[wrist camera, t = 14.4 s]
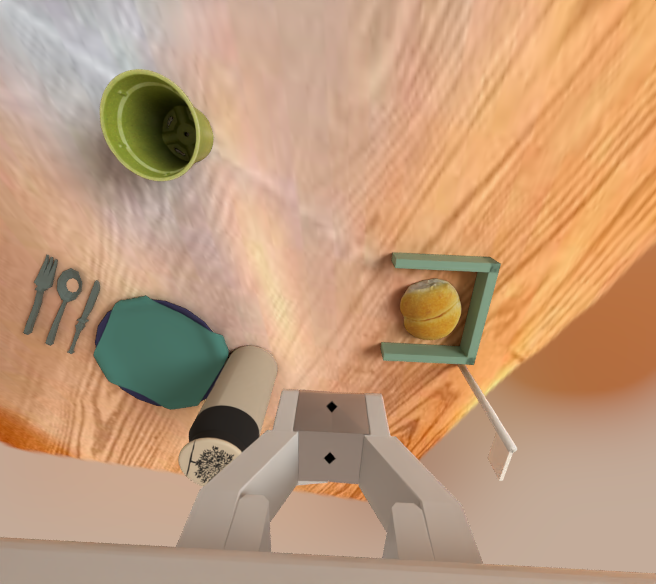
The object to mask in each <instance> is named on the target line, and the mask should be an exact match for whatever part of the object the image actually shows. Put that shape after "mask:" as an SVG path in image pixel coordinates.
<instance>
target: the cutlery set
mask: <svg viewBox="0 0 656 584" xmlns="http://www.w3.org/2000/svg"><path fill="white" fill-rule="evenodd" d="M48 261H49V255H46V258H45V261H44V264H43V266H42V268H41V270H40V272H39V274H38V276H37V278H36V280H35V281H34V283H35V284H36V285H37V288H36V289H35V290H37V293H36V297H35V302H34V305H33V308H32V311H31V313H30V316H29V318H28V321H27V323H26V327H25V330H24V332H23V333H24V334H27V335H28V334H30V333H32V331H33V327H34V323H35V321H36V318H37V316H38V313H39V310H40V307H41V303H42V298H43V294H44V291H46V290H47V289H48V288H51V287H52V285H53V280H54V275H55V271H56V267H57V262H58V260H57V259H55V262H54V265H53V267H52V264H53V257H51V258H50V262H49V264H48ZM47 265H48V266H47ZM51 268H52V269H51ZM72 278H74V279H76V280H77V281H78V284H79V289H78V290H77V291H76V292H73V293H72V292H70V291H68V289H67V287H66V282H67V281H68V280H69V279H72ZM81 290H82V281H81V278H80V275H79V273H78V272H77V271H75V270H73V269H72V268H70V269H68V270H66V271H64V272H62V274H61V276H60V277H59V279H58V283H57V291H58V293H59V295H60V298H61V299H62V300H63V303H62V305H61V307H60V309H59V311H58V314H57V316H56V318H55V320H54V322H53V325H52V327H51V330H50V332H49V335H48V337H47V340H46V342H45V343H46V344H48V345H50V346H51V345H52V344H54V340H55V336H56V333H57V329H58V326H59V323H60V320H61V317H62V315H63V312H64V309H65V306H66V304H67V302H69V301H72V300H75V299H76V298H77V296H78V295H79V294H80V292H81ZM99 291H100V285H99V281H98V280H96V281H95V283H94V286H93V288H92V291H91V294H90V296H89V299H88V302H87V304H86V307H85V310H84V312H83V315H82V317H81V318H79V319H77V320H78V321H79V322H78V324H77V325H75V326H76V333H75V336H74V340H73V343H72V345H71V347H70V350H69V351H68V353H70V354H72V353H74V351H73V350H74V347H75V344H76V341H77V339H78V337H79V334H80V332H81V331H82V330H83V329H84V327H85V323H86V322H88V321H89V320H87V317H88V316H89V314H90V312H91V311H92V309H93V306H94V304H95V302H96V299H97V296H98V293H99ZM95 345H96V349H95V352H94V357H95V359H96V361H97V363H98V365H99V366H100V368H101V370H102V371H103V373H104V375H105V377H106V378H107V379H108V381H109V382H111V383H113V384H116V385H118V386H119V387H120V388H121V389H122V390H124V391H126V392H127V393H129V394H130V395H132V396H134V397H135V398H137V399H139V400H142V401H145V402H147V403H150V404H153V405H156V406H163V407H165V408H167V409H180V408H186V407H192V406H198V405H199V403H200V402H201V401H202V400H205V399H207V397H208V395H209V394H210V392H211V390H212V388H213V386H214V384H215V382H216V381H217V379H218V377H219V375H220V373H221V371H222V370H223V368H224V363H225V362H226V360H227V358H228V353H229V351H228V347H227V345H226V343H225V340H224V337H223V336H222V335H219V334H216V333H213V332H212V331H211V329H210V328H209V327H208V326H207V324H206V323H205V322H204V321H203V320H201V319H200V318H198V317H197V316H196V315H194V314H193V313H191V312H190V311H189V310H187V309H185V308H183V307H180V306H178V305H175V304H172V303H170V302H167V301H162V300H153V299H150V298H149V297H147V296H146V295H145V296H142V297H138V298H132V299H126V300H120V301H119V302H117V303H116V304H115V306H114V307H113V309H112V310H111V311H109V312H107V314H106V315H105V317H104V318H103V320H102V321H101V322H100V324H99V325H98V328H97V334H96V340H95Z"/></svg>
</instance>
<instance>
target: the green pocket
mask: <svg viewBox="0 0 656 584" xmlns="http://www.w3.org/2000/svg"><path fill="white" fill-rule="evenodd" d="M392 263H393V265H394V267H395V268H407V269H428V270H450V271H471V272H477V276H476V281H475V285H474V289H473V293H472V297H471V302H470V306H469V310H468V314H467V318H466V323H465V327H464V331H463V335H462V339H461V344H460V346H447V345H426V344H406V343H385V342H381V353H382V357H383V360H386V361H406V362H427V363H447V364H457V365H458V367H459V369H460V370H461V372H462V374H463V375H464V377H465V379H466V381H467V382H468V384H469V386H470V387H471V389H472V391H473V392H474V394H475V396H476V398H477V399H478V401H479V403H480V404H481V406H482V408H483V409H484V411H485V413H486V414H487V416H488V418H489V420H490V421H491V423H492V425H493V426H494V428H495V430H496V434H495V437H494V440H493V443H492V446H491V449H490V453H489V456H488V460H489V462H490V464H491V466H492V467H493V470H494V472H495V473H496V475H497V477H498V479H499V480H500V481H502V480H503V478H504V475H505V472H506V470H507V467H508V464H509V462H510V459H511V456H512V454H513V452H515V451H516V450H517V447H516V446H515V444H514V442H513V441H512V439H511V438H510V436H509V434H508V433H507V431H506V430H505V428H504V426H503V425H502V423H501V422H500V420H499V418H498V417H497V415H496V414H495V412H494V410H493V409H492V407H491V406H490V404H489V402H488V401H487V399H486V398H485V396H484V394H483V393H482V391H481V390H480V388H479V386H478V385H477V383H476V382H475V380H474V378H473V377H472V375H471V374H470V372H469V370H468V369H467V367H466V366H465V364H467V365H474V363H475V359H476V355H477V351H478V347H479V344H480V340H481V336H482V332H483V329H484V325H485V321H486V317H487V314H488V310H489V306H490V302H491V299H492V295H493V291H494V287H495V283H496V280H497V276H498V272H499V268H500V265H501V264H500V263H499V262H497V261H495V260H494V259H492V258H491V257H478V256H456V255H435V254H413V253H392Z"/></svg>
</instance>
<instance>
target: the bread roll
mask: <svg viewBox="0 0 656 584" xmlns="http://www.w3.org/2000/svg"><path fill="white" fill-rule="evenodd" d="M400 310H401V313H402V314H403V316H404V326H405V329H406V330H407V331H408V332H409V333H410V334H411V335H413V336H415V337H416V338H419V339H423V340H437V339H440V338H443V337H445V336H447V335H448V334H450V333H451V332H452V331H453V329H454V328H455V327H456V325H457V323H458V321H459V318H460V315H461V303H460V300H459V296H458V293H457V291H456V290H455V288H454V287H453V286H452V285H451V284H450V283H449V282H447V281H444V280H440V279H430V280H424V281H421V282H418V283H415V284H413V285H411V286H409V287H408V289H407V290H406V292H405V294H404V295H403V297H402V299H401V303H400Z"/></svg>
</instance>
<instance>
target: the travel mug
mask: <svg viewBox="0 0 656 584" xmlns="http://www.w3.org/2000/svg"><path fill="white" fill-rule="evenodd" d="M277 371H278V367H277V363H276V360H275V358H274V357H273V356H272V355H271V354H270V353H269V352H268V351H266V350H265V349H263V348H260V347H257V346H243V347H240V348H238V349H236V350H235V351H234V352H233V353H232V354H231V355H230V357H229V359H228V360H227V362H226V364H225V366H224V368H223V370H222V371H221V373H220V375H219V377H218V379H217V381H216V382H215V384H214V386H213V388H212V390H211V392H210V394H209V395H208V397H207V399H206V401H205V403H204V405H203V406H202V408H201V410H200V412H199V414H198V416H197V417H196V419H195V421H194V423H193V425H192V427H191V428H190V431H189V443H188V444H186V445H185V446H184V447H183V448H182V450H181V452H180V454H179V466H180V468H181V470H182V472H183V473H184V474H185V476H187V477H188V478H189V479H190V480H191V481H193V482H195V483H197V484H199V485H201V486H205V485H206V484H207V483H208V482H209V481H210V480H212V479H213V478H214V477H215V476H216V475H217V474H218V473H219V472H221V471H222V470H223V469H224V468H225V467H226V466H227V465H228V464H230V463H231V462H232V461H233V460H234V459H235V458H236V457H238V456H239V455H240V454H241V453H242V452H243V451H244V450H245V449H247V448H248V447H249V446H250V445H251V444H252V443H253V442H254V441H256V440H257V439H258V438H259V436H260V432H261V429H262V425H263V421H264V418H265V414H266V411H267V407H268V404H269V400H270V396H271V393H272V389H273V386H274V382H275V379H276V375H277Z"/></svg>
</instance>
